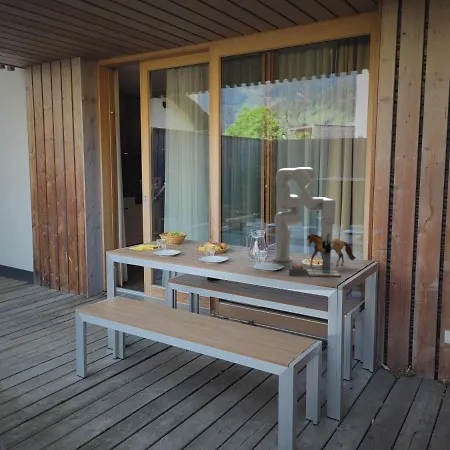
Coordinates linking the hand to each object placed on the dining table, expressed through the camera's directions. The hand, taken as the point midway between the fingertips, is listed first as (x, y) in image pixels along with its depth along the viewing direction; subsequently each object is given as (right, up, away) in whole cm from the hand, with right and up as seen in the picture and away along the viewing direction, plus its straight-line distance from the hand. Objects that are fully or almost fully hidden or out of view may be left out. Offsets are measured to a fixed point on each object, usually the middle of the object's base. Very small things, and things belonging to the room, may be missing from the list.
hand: (326, 250), depth 267 cm
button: (-16, -11, +1) cm, 20 cm away
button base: (-16, -13, +2) cm, 21 cm away
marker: (0, -13, +1) cm, 13 cm away
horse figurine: (+7, -12, +17) cm, 22 cm away
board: (-2, -13, +1) cm, 14 cm away
